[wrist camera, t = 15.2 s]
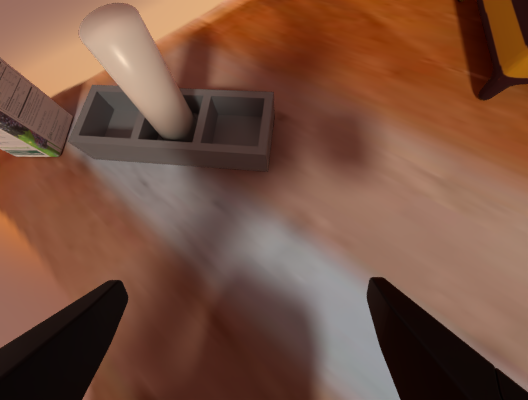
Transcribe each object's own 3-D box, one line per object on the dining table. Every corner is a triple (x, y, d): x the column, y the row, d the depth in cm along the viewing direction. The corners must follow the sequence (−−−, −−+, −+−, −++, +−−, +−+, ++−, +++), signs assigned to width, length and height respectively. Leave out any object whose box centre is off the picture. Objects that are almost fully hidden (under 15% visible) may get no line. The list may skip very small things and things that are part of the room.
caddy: (94, 159, 27) (68, 141, 24) (113, 107, 29) (92, 84, 26) (267, 171, 25) (265, 154, 22) (274, 114, 27) (273, 92, 24)
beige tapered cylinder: (161, 148, 26) (69, 47, 15) (169, 118, 27) (91, 2, 16) (196, 151, 26) (129, 48, 14) (203, 119, 27) (147, 2, 16)
